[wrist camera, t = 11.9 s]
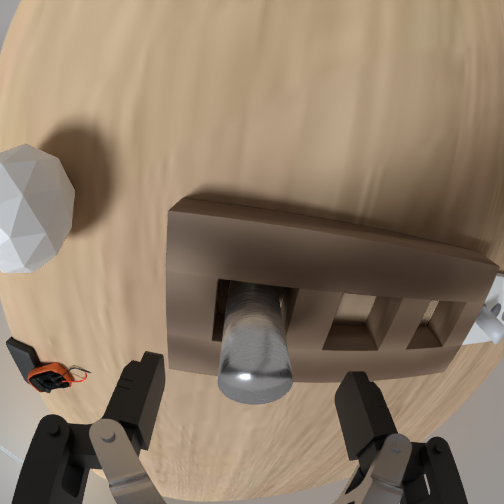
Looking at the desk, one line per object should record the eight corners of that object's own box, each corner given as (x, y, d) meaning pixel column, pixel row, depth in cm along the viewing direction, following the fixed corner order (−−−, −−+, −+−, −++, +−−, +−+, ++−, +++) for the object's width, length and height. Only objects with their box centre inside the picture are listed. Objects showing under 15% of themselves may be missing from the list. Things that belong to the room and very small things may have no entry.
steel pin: (231, 265, 17) (220, 354, 10) (281, 271, 17) (301, 361, 10) (226, 306, 18) (215, 400, 11) (271, 312, 19) (283, 406, 11)
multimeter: (132, 354, 21) (120, 381, 18) (143, 420, 26) (136, 442, 22) (1, 302, 20) (-16, 318, 16) (28, 373, 24) (17, 389, 21)
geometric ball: (69, 212, 18) (6, 280, 14) (28, 129, 13) (-50, 199, 8) (116, 223, 15) (30, 321, 10) (61, 106, 10) (-59, 205, 5)
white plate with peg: (481, 269, 18) (514, 296, 13) (521, 277, 19) (546, 298, 14) (447, 340, 21) (470, 371, 16) (492, 335, 22) (513, 359, 17)
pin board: (182, 198, 16) (168, 210, 13) (478, 252, 17) (499, 266, 14) (177, 341, 20) (169, 368, 17) (431, 352, 21) (444, 371, 19)
